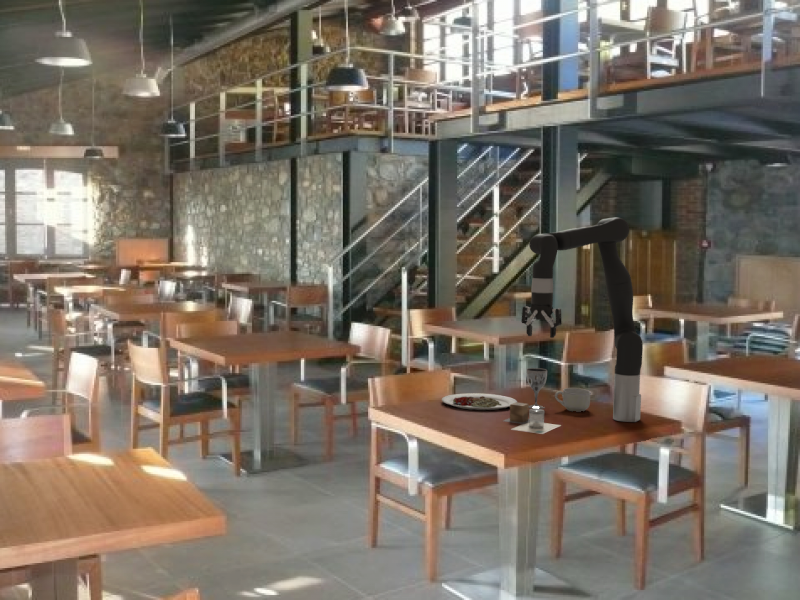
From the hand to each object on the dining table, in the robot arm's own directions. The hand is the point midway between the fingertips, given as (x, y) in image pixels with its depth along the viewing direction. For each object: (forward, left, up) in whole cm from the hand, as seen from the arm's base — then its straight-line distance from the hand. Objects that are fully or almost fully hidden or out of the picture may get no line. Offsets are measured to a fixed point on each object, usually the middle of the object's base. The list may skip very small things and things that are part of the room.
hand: (540, 336), depth 322 cm
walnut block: (+9, -3, -32) cm, 33 cm away
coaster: (+9, -3, -32) cm, 33 cm away
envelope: (-1, +4, -32) cm, 32 cm away
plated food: (+36, -24, -33) cm, 54 cm away
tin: (-1, +4, -32) cm, 32 cm away
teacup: (+1, -35, -32) cm, 48 cm away
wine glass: (+15, -32, -32) cm, 48 cm away
